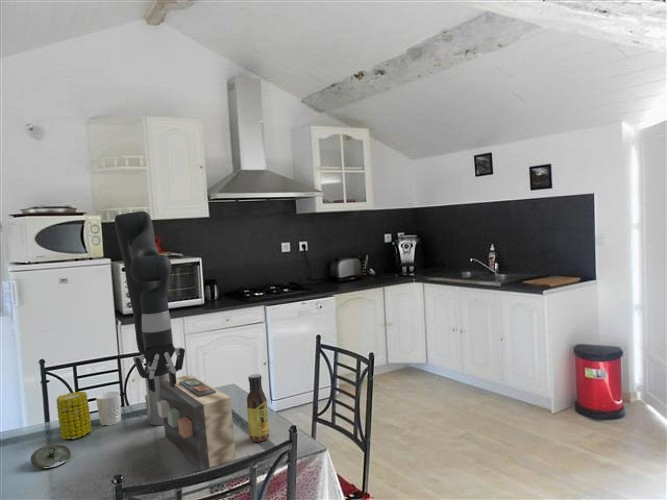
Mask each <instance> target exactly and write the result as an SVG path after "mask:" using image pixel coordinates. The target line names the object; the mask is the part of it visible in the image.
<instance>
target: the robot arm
mask: <svg viewBox="0 0 667 500" xmlns="http://www.w3.org/2000/svg"><path fill="white" fill-rule="evenodd" d="M114 228H115V233H116V237H117V242H118V245H119V248H120V249H119V250H120V253H121V257H122V261H123V266H124V272H125V280H126V286H127V293H128V296H129V297H128V298H129V300H130V305H131V309H132V315H133V321H134V322H133V323H134V331H135V339H136V345H137V346H136V347H137V350H138V352H139V354H140V355H138V356H134V357H133V358H132V360H133V362H134V365H135V368H136V369H137V372H138V374H139V377H140V378H142V379H145V381H144V382H145V388H146V395H145V396H144V398H145V406H146V416H147V422H148V423H149V424H150V425H153V426H164V418H162V417H160V416H159V415H158V405H157V402H158V401H162V398H161V388H160V382H162V381H166V380H169V382H170V386H171V387H175V384H176V378H177V375H176V373H177V372H178V371H181V370H182V369H183V364H184V359H185V352H186V350H185V349H184V348H183V347H181V346H180V347H175V345H174V343H173V342H174V341H173V340H174V339H173V331H172V322H171V315H170V311H169V300H168V290H169V282H170V277H171V273H172V261H171V260H170V258H169V257H168V256H167V255H165V254H160V252H159V249H158V247H157V244H156V238H155V237H156V236H155V230H154V225H153V220H152V218H151V216H150V214H149V213H148V212H146V211H145V210H144V211H132V212H126V213H120V214H117V215H115V217H114ZM131 242H132V244H131V245H130V243H131ZM157 281H158V283H157ZM174 354H175V356H176V360H175V364H174V362H173V361H172V357H173V355H174ZM144 359H146V360H147V362H148V364H147V365H145V367H144V366H143V363H145V362H144Z"/></svg>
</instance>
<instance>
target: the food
mask: <svg viewBox="0 0 667 500" xmlns="http://www.w3.org/2000/svg"><path fill="white" fill-rule="evenodd" d="M55 401H56V405H57V406H56V409H57V418H58V423H59V427H58V428H59V429H60V435H61V436H60V437H61V439H62V438H64V439H63V440H65V439H66V438H67V439H71V438H77V439H79V438H78V437H81V436H82V437H83V436H84V437H85V436H86V435H87V434H89V433H91V432H92V422H91V420H92V419H91V413H90V405H89V402H88V401H89V399H88V394H87V392H86V391H77V392H76V391H74V392H68V393H67V394H63V395H59V396H57V398H56V400H55ZM82 437H81V438H82ZM67 439H66V440H67ZM71 440H72V439H71Z"/></svg>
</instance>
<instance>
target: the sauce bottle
mask: <svg viewBox="0 0 667 500" xmlns="http://www.w3.org/2000/svg"><path fill="white" fill-rule="evenodd" d="M262 380H263V379H262V374H260V373H254V374H250V375H248V383H249V392H248V394H247V398H246V410H247V423H248V435H249V439H250V441H251V442H253V443H260V442H264V441H267V440H268V439H269V437H270V423H269V410H268V409H269V408H268V399H267V397H266V395H265V392H264V390H263V386H262Z"/></svg>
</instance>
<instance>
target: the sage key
mask: <svg viewBox="0 0 667 500" xmlns="http://www.w3.org/2000/svg"><path fill="white" fill-rule="evenodd" d="M167 416H168V424H169V425H170V426H171V427H177V426H178V419H180V411H179V410H177V409H176V408H172V409H169V410H167Z"/></svg>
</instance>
